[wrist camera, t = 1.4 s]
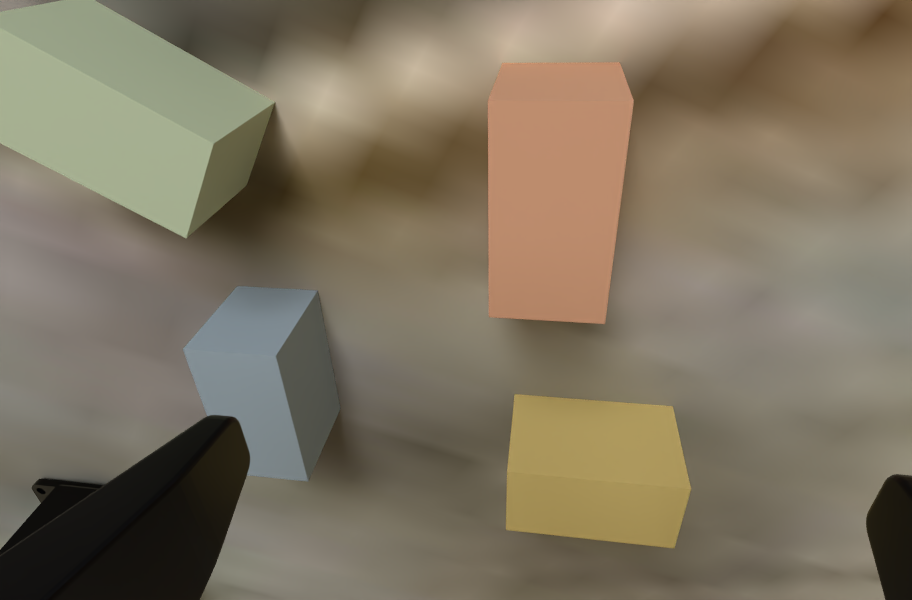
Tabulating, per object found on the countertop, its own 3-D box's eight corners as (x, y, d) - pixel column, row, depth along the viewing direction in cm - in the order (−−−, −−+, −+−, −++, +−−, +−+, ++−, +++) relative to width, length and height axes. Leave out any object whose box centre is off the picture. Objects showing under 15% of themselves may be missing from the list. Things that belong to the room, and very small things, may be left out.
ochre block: (672, 404, 23) (691, 489, 19) (659, 461, 24) (674, 548, 21) (514, 392, 23) (507, 471, 20) (513, 448, 25) (505, 529, 22)
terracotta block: (597, 253, 19) (604, 323, 16) (501, 249, 20) (488, 316, 17) (619, 61, 16) (633, 100, 13) (503, 62, 17) (487, 100, 13)
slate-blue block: (341, 406, 25) (308, 481, 22) (271, 400, 26) (228, 473, 22) (318, 289, 22) (275, 356, 19) (238, 284, 22) (182, 349, 19)
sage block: (276, 101, 18) (213, 143, 15) (248, 183, 20) (186, 238, 17) (89, -5, 17) (-22, 16, 14) (76, 92, 19) (-25, 130, 16)
